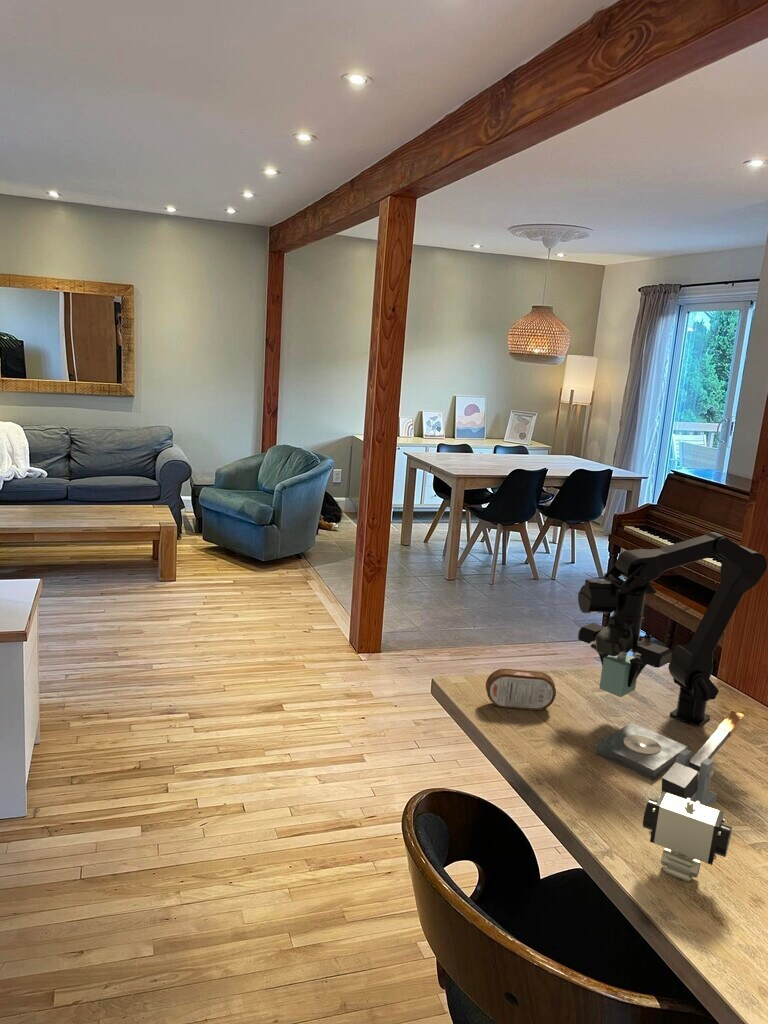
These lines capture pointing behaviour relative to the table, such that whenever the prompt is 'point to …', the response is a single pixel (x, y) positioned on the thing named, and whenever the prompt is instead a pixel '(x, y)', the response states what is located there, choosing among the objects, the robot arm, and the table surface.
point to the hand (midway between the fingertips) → (618, 682)
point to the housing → (616, 674)
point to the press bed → (640, 750)
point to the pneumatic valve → (686, 833)
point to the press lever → (699, 760)
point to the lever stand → (700, 778)
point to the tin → (520, 689)
